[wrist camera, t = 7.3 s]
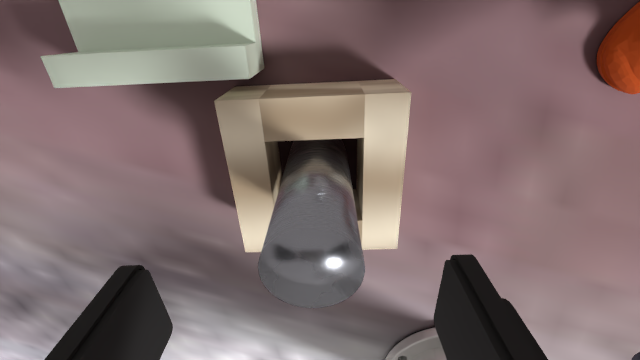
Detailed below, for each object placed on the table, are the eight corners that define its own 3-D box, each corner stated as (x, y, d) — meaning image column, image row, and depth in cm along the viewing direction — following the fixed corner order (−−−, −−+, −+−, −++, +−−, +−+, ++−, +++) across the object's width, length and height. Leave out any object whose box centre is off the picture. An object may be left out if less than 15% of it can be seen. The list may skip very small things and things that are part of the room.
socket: (386, 214, 23) (397, 248, 20) (257, 217, 24) (245, 252, 20) (394, 79, 19) (411, 92, 15) (235, 86, 19) (213, 100, 15)
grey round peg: (347, 180, 22) (363, 307, 12) (292, 182, 22) (265, 308, 12) (346, 128, 20) (366, 226, 10) (287, 130, 20) (250, 229, 10)
